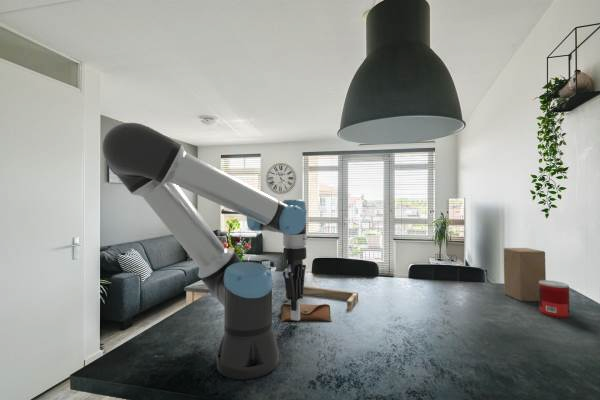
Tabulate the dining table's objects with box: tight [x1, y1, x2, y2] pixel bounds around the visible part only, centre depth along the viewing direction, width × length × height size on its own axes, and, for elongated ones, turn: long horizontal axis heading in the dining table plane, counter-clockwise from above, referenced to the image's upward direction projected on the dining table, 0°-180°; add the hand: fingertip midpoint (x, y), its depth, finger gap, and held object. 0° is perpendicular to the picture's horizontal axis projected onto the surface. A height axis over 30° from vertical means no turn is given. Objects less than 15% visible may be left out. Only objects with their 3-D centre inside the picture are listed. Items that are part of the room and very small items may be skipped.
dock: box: [285, 285, 359, 311], centre depth 117 cm, size 12×27×3 cm, turn 66°
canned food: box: [538, 279, 571, 319], centre depth 101 cm, size 8×8×11 cm
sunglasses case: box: [280, 303, 333, 323], centre depth 99 cm, size 18×7×7 cm
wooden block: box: [503, 247, 547, 302], centre depth 119 cm, size 10×10×20 cm
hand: (295, 319), depth 93 cm, fingers closed
